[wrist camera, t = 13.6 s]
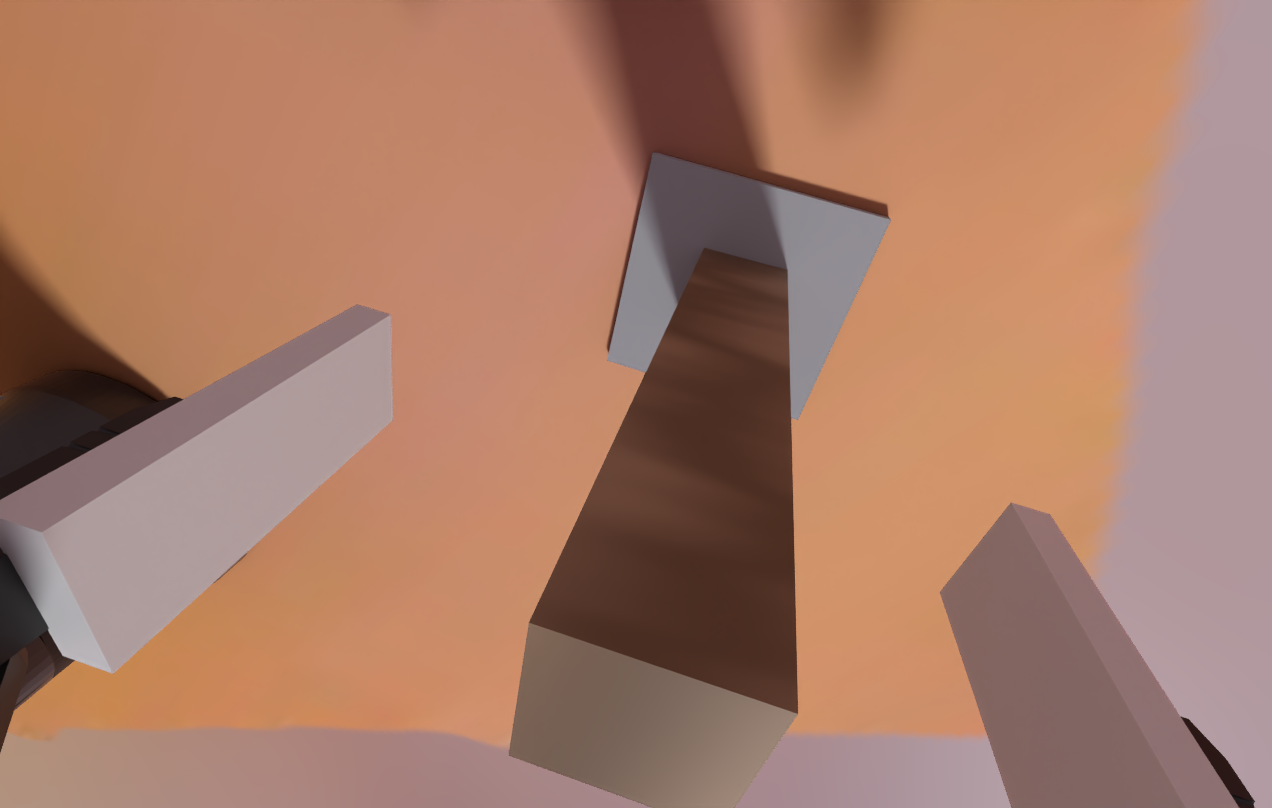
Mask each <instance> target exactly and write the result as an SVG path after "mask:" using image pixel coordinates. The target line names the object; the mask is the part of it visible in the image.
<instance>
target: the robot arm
mask: <svg viewBox="0 0 1272 808" xmlns="http://www.w3.org/2000/svg"><path fill="white" fill-rule="evenodd" d="M392 420H393V399H392V348H391V315H390V314H387V313H384V312H381V311H377V310H374V309H371V308H367V307H364V306H361V305H355V306H353V307H351V308H350V309H348V310H346V311H344V312H342V313H341V314H339V315H337V316H335V317H333V318H331V319H330V320H328V321H326V322H324V323H322V324H320V325H319V326H317V327H315V328H313V329H311V330H310V331H308V332H306V333H304V334H302V335H300V336H299V337H297V338H295V339H293V340H291V341H289V342H288V343H286V344H284V345H282V346H280V347H278V348H277V349H275V350H273V351H271V352H269V353H268V354H266V355H264V356H262V357H260V358H258V359H257V360H255V361H253V362H251V363H249V364H247V365H246V366H244V367H242V368H240V369H238V370H237V371H235V372H233V373H231V374H229V375H227V376H226V377H224V378H222V379H220V380H218V381H216V382H215V383H213V384H211V385H209V386H207V387H205V388H204V389H202V390H200V391H198V392H196V393H195V394H193V395H191V396H189V397H187V398H185V399H181V398H178V397H172V398H169V399H165V400H162V401H158V402H155V401H154V400H152V399H151V398H149V397H147V396H146V395H144V394H142V393H140V392H138V391H137V390H135V389H133V388H131V387H129V386H127V385H125V384H122V383H120V382H118V381H115V380H113V379H110V378H107V377H104V376H101V375H97V374H93V373H89V372H83V371H74V370H65V371H57V372H53V373H50V374H47V375H45V376H42V377H40V378H37V379H35V380H32V381H30V382H27V383H25V384H22V385H20V386H17V387H15V388H13V389H10V390H8V391H6V392H5V393H3V394H1V395H0V752H1V749H2V746H3V743H4V739H5V736H6V733H7V730H8V727H9V724H10V721H11V718H12V715H13V711H14V710H15V709H17V708H18V707H19V706H20V705H21V704H23V703H24V702H25V701H26V700H27V699H29V698H30V697H31V696H32V695H34V694H35V693H36V692H37V691H38V690H40V689H41V688H42V687H43V686H44V685H46V684H47V683H48V682H49V681H50V680H51V679H52V678H54V677H55V676H56V675H57V674H59V673H60V672H61V671H62V670H64V669H65V668H66V667H67V666H69V665H70V664H71V663H72V662H73V661H75V660H76V661H79V662H82V663H84V664H87V665H90V666H93V667H96V668H98V669H101V670H104V671H107V672H110V673H114V672H116V671H117V670H118V669H119V668H120V667H121V666H122V665H123V664H124V663H125V662H127V661H128V660H129V659H130V658H131V657H132V656H133V655H134V654H135V653H136V652H138V651H139V650H140V649H141V648H142V647H143V646H144V645H145V644H146V643H147V642H149V641H150V640H151V639H152V638H153V637H154V636H155V635H156V634H157V633H159V632H160V631H161V630H162V629H163V628H164V627H165V626H166V625H167V624H168V623H170V622H171V621H172V620H173V619H174V618H175V617H176V616H177V615H178V614H179V613H181V612H182V611H183V610H184V609H185V608H186V607H187V606H188V605H189V604H190V603H192V602H193V601H194V600H195V599H196V598H197V597H198V596H199V595H200V594H202V593H203V592H204V591H205V590H206V589H207V588H208V587H209V586H210V585H212V584H213V583H215V582H216V581H217V580H219V579H220V578H221V577H222V576H223V575H224V574H225V573H227V572H228V571H229V570H230V569H231V568H232V567H233V566H234V565H236V564H237V563H238V562H239V561H240V560H241V559H242V558H243V557H244V556H245V555H246V554H247V552H248V551H249V550H250V549H251V548H252V547H253V546H254V545H256V544H257V543H258V542H259V541H260V540H261V539H262V538H263V537H264V536H265V535H267V534H268V533H269V532H270V531H271V530H272V529H273V528H274V527H275V526H276V525H278V524H279V523H280V522H281V521H282V520H283V519H284V518H285V517H286V516H288V515H289V514H290V513H291V512H292V511H293V510H294V509H295V508H296V507H297V506H299V505H300V504H301V503H302V502H303V501H304V500H305V499H306V498H307V497H308V496H310V495H311V494H312V493H313V492H314V491H315V490H316V489H317V488H318V487H319V486H321V485H322V484H323V483H324V482H325V481H326V480H327V479H328V478H329V477H331V476H332V475H333V474H334V473H335V472H336V471H337V470H338V469H339V468H340V467H342V466H343V465H344V464H345V463H346V462H347V461H348V460H349V459H350V458H351V457H353V456H354V455H355V454H356V453H357V452H358V451H359V450H360V449H361V448H362V447H364V446H365V445H366V444H367V443H368V442H369V441H370V440H371V439H372V438H374V437H375V436H376V435H377V434H378V433H379V432H380V431H381V430H382V429H383V428H385V427H386V426H387V425H388V424H389V423H390V422H391V421H392ZM940 594H941V597H942V600H943V603H944V606H945V609H946V612H947V615H948V618H949V621H950V624H951V627H952V630H953V633H954V636H955V639H956V642H957V645H958V648H959V651H960V654H961V657H962V660H963V663H964V666H965V669H966V672H967V675H968V678H969V681H970V684H971V687H972V690H973V693H974V696H975V699H976V702H977V705H978V708H979V711H980V714H981V717H982V720H983V723H984V726H985V729H986V732H987V735H988V738H989V741H990V744H991V747H992V750H993V753H994V756H995V759H996V762H997V765H998V768H999V771H1000V774H1001V777H1002V780H1003V783H1004V786H1005V789H1006V792H1007V795H1008V798H1009V801H1010V804H1011V807H1012V808H1254V805H1253V804H1254V802H1255V801H1254V800H1253V798H1252V797H1251V795H1250V794H1249V792H1248V791H1247V790H1246V788H1245V786H1244V785H1243V784H1242V782H1241V780H1240V779H1239V777H1238V776H1237V774H1236V773H1235V771H1234V770H1233V769H1232V767H1231V766H1230V764H1229V763H1228V761H1227V760H1226V758H1225V757H1224V756H1223V755H1222V754H1221V753H1220V752H1219V751H1218V750H1217V749H1216V748H1215V747H1214V746H1213V745H1212V744H1211V743H1210V741H1209V740H1208V739H1207V738H1206V737H1205V736H1204V735H1203V734H1202V733H1201V732H1200V731H1199V730H1198V729H1197V728H1196V727H1195V726H1194V725H1193V723H1192V722H1191V721H1190V720H1189V719H1187V718H1183V717H1180V715H1179V714H1178V712H1177V711H1176V709H1175V708H1174V706H1173V704H1172V703H1171V701H1170V700H1169V698H1168V697H1167V695H1166V694H1165V692H1164V690H1163V689H1162V688H1161V686H1160V685H1159V683H1158V681H1157V680H1156V678H1155V676H1154V675H1153V673H1152V672H1151V670H1150V669H1149V667H1148V666H1147V664H1146V663H1145V661H1144V659H1143V658H1142V656H1141V655H1140V653H1139V652H1138V650H1137V649H1136V647H1135V645H1134V644H1133V642H1132V641H1131V639H1130V638H1129V636H1128V635H1127V633H1126V631H1125V630H1124V628H1123V627H1122V625H1121V624H1120V622H1119V621H1118V619H1117V618H1116V616H1115V614H1114V613H1113V611H1112V610H1111V608H1110V607H1109V605H1108V604H1107V602H1106V600H1105V599H1104V597H1103V596H1102V594H1101V593H1100V591H1099V590H1098V588H1097V587H1096V585H1095V583H1094V582H1093V580H1092V579H1091V577H1090V576H1089V574H1088V573H1087V571H1086V569H1085V568H1084V566H1083V565H1082V563H1081V562H1080V560H1079V559H1078V557H1077V556H1076V554H1075V552H1074V551H1073V549H1072V548H1071V546H1070V545H1069V543H1068V542H1067V540H1066V538H1065V537H1064V535H1063V534H1062V532H1061V531H1060V529H1059V528H1058V526H1057V524H1056V523H1055V521H1054V520H1053V518H1052V517H1051V515H1050V514H1047V513H1044V512H1040V511H1037V510H1034V509H1030V508H1027V507H1024V506H1021V505H1017V504H1014V503H1010V505H1009V506H1008V507H1007V508H1006V510H1005V511H1004V512H1003V513H1002V515H1001V516H1000V517H999V518H998V520H997V521H996V522H995V524H994V525H993V526H992V527H991V529H990V530H989V531H988V532H987V534H986V535H985V536H984V537H983V539H982V540H981V541H980V542H979V544H978V545H977V546H976V547H975V549H974V550H973V551H972V552H971V554H970V555H969V556H968V557H967V559H966V560H965V561H964V562H963V564H962V565H961V566H960V568H959V569H958V570H957V571H956V573H955V574H954V575H953V576H952V578H951V579H950V580H949V581H948V583H947V584H946V585H945V586H944V588H943V589H942V590H941V591H940Z"/></svg>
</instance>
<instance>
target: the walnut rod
mask: <svg viewBox="0 0 1272 808" xmlns="http://www.w3.org/2000/svg"><path fill="white" fill-rule="evenodd" d="M797 715H798V694H797V651H796V608H795V565H794V522H793V479H792V436H791V393H790V350H789V307H788V270H786V269H782V268H778V267H775V266H771V265H767V264H763V263H760V262H756V261H752V260H749V259H745V258H741V257H738V256H734V255H730V254H726V253H723V252H719V251H715V250H712V249H708V248H704V249H703V251H702V253H701V255H700V257H699V260H698V262H697V264H696V266H695V268H694V270H693V272H692V275H691V277H690V279H689V281H688V283H687V285H686V287H685V290H684V292H683V294H682V296H681V298H680V300H679V302H678V305H677V307H676V309H675V311H674V313H673V315H672V317H671V320H670V322H669V324H668V326H667V328H666V330H665V332H664V335H663V337H662V339H661V341H660V343H659V345H658V347H657V350H656V352H655V354H654V356H653V358H652V360H651V362H650V365H649V367H648V369H647V371H646V373H645V375H644V377H643V380H642V382H641V384H640V386H639V388H638V390H637V392H636V395H635V397H634V399H633V401H632V403H631V405H630V407H629V410H628V412H627V414H626V416H625V418H624V420H623V422H622V425H621V427H620V429H619V431H618V433H617V435H616V437H615V440H614V442H613V444H612V446H611V448H610V450H609V452H608V455H607V457H606V459H605V461H604V463H603V465H602V467H601V470H600V472H599V474H598V476H597V478H596V480H595V482H594V485H593V487H592V489H591V491H590V493H589V495H588V497H587V500H586V502H585V504H584V506H583V508H582V510H581V512H580V515H579V517H578V519H577V521H576V523H575V525H574V527H573V530H572V532H571V534H570V536H569V538H568V540H567V542H566V545H565V547H564V549H563V551H562V553H561V555H560V557H559V560H558V562H557V564H556V566H555V568H554V570H553V572H552V575H551V577H550V579H549V581H548V583H547V585H546V587H545V590H544V592H543V594H542V596H541V598H540V600H539V602H538V605H537V607H536V609H535V611H534V613H533V615H532V617H531V620H530V622H529V626H528V633H527V639H526V646H525V652H524V659H523V665H522V672H521V678H520V685H519V691H518V698H517V704H516V711H515V717H514V724H513V730H512V737H511V743H510V750H509V756H512V757H515V758H517V759H520V760H523V761H526V762H528V763H531V764H534V765H536V766H539V767H542V768H545V769H548V770H550V771H553V772H556V773H559V774H561V775H564V776H567V777H570V778H572V779H575V780H578V781H581V782H583V783H586V784H589V785H592V786H594V787H597V788H600V789H603V790H606V791H608V792H611V793H614V794H616V795H619V796H622V797H625V798H627V799H630V800H633V801H636V802H638V803H641V804H644V805H647V806H649V807H652V808H735V807H736V805H737V803H738V802H739V800H740V799H741V798H742V796H743V795H744V793H745V792H746V790H747V789H748V787H749V786H750V784H751V783H752V781H753V780H754V778H755V777H756V775H757V774H758V773H759V771H760V769H761V768H762V767H763V765H764V764H765V762H766V760H767V759H768V758H769V756H770V755H771V753H772V752H773V750H774V749H775V747H776V746H777V744H778V742H779V741H780V740H781V738H782V737H783V735H784V734H785V732H786V731H787V730H788V728H789V727H790V725H791V724H792V722H793V721H794V719H795V718H796V716H797Z"/></svg>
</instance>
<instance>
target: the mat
mask: <svg viewBox="0 0 1272 808" xmlns="http://www.w3.org/2000/svg"><path fill="white" fill-rule="evenodd" d="M890 221H891V219H890V218H889V217H886V216H883V215H879V214H876V213H872V212H869V211H865V210H861V209H858V208H854V207H851V206H847V205H843V204H840V203H836V202H833V201H829V200H826V199H822V198H818V197H815V196H811V195H808V194H804V193H801V192H797V191H793V190H790V189H786V188H783V187H779V186H776V185H772V184H768V183H765V182H761V181H758V180H754V179H751V178H747V177H743V176H740V175H736V174H733V173H729V172H726V171H722V170H718V169H715V168H711V167H708V166H704V165H701V164H697V163H693V162H690V161H686V160H683V159H679V158H676V157H672V156H668V155H665V154H661V153H658V152H654V153H653V154H652V158H651V163H650V168H649V172H648V177H647V181H646V186H645V190H644V195H643V199H642V204H641V209H640V213H639V218H638V222H637V227H636V231H635V236H634V241H633V245H632V250H631V254H630V259H629V263H628V268H627V272H626V277H625V282H624V286H623V291H622V295H621V300H620V304H619V309H618V314H617V318H616V323H615V327H614V332H613V336H612V341H611V345H610V350H609V355H608V359H607V361H610V362H613V363H617V364H620V365H623V366H626V367H629V368H633V369H636V370H639V371H642V372H645V373H646V371H647V369H648V367H649V365H650V362H651V360H652V358H653V356H654V354H655V352H656V350H657V347H658V345H659V343H660V341H661V339H662V337H663V335H664V332H665V330H666V328H667V326H668V324H669V322H670V320H671V317H672V315H673V313H674V311H675V309H676V307H677V305H678V302H679V300H680V298H681V296H682V294H683V292H684V290H685V287H686V285H687V283H688V281H689V279H690V277H691V275H692V272H693V270H694V268H695V266H696V264H697V262H698V260H699V257H700V255H701V253H702V251H703V249H704V248H708V249H712V250H715V251H719V252H723V253H726V254H730V255H734V256H738V257H741V258H745V259H749V260H752V261H756V262H760V263H763V264H767V265H771V266H775V267H778V268H782V269H786V270H788V307H789V350H790V393H791V418H793V419H796V420H798V419H799V417H800V414H801V412H802V410H803V408H804V406H805V404H806V401H807V399H808V397H809V395H810V393H811V391H812V389H813V386H814V384H815V382H816V380H817V378H818V376H819V373H820V371H821V369H822V367H823V365H824V363H825V361H826V358H827V356H828V354H829V352H830V350H831V348H832V346H833V343H834V341H835V339H836V337H837V335H838V333H839V330H840V328H841V326H842V324H843V322H844V320H845V318H846V315H847V313H848V311H849V309H850V307H851V305H852V303H853V300H854V298H855V296H856V294H857V292H858V290H859V287H860V285H861V283H862V281H863V279H864V277H865V275H866V272H867V270H868V268H869V266H870V264H871V262H872V259H873V257H874V255H875V253H876V251H877V249H878V247H879V244H880V242H881V240H882V238H883V236H884V234H885V232H886V229H887V227H888V225H889V223H890Z"/></svg>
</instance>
